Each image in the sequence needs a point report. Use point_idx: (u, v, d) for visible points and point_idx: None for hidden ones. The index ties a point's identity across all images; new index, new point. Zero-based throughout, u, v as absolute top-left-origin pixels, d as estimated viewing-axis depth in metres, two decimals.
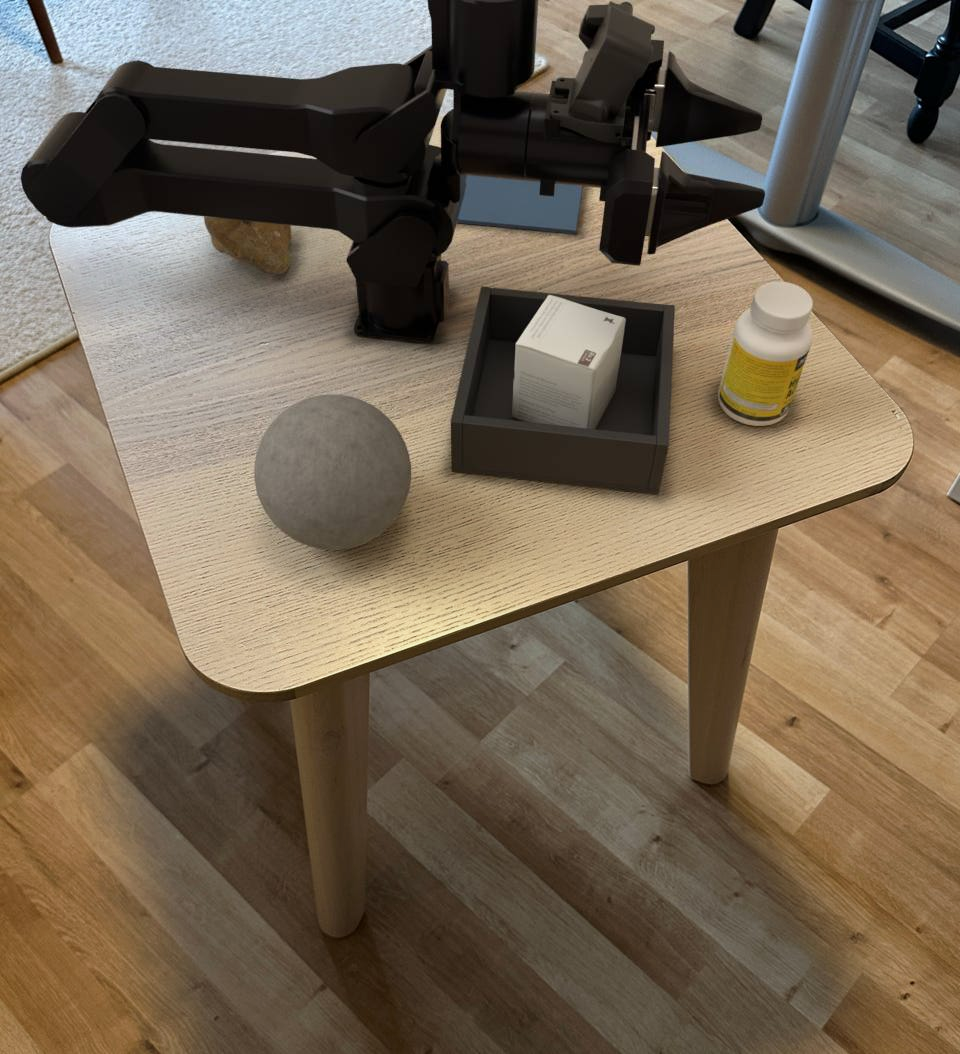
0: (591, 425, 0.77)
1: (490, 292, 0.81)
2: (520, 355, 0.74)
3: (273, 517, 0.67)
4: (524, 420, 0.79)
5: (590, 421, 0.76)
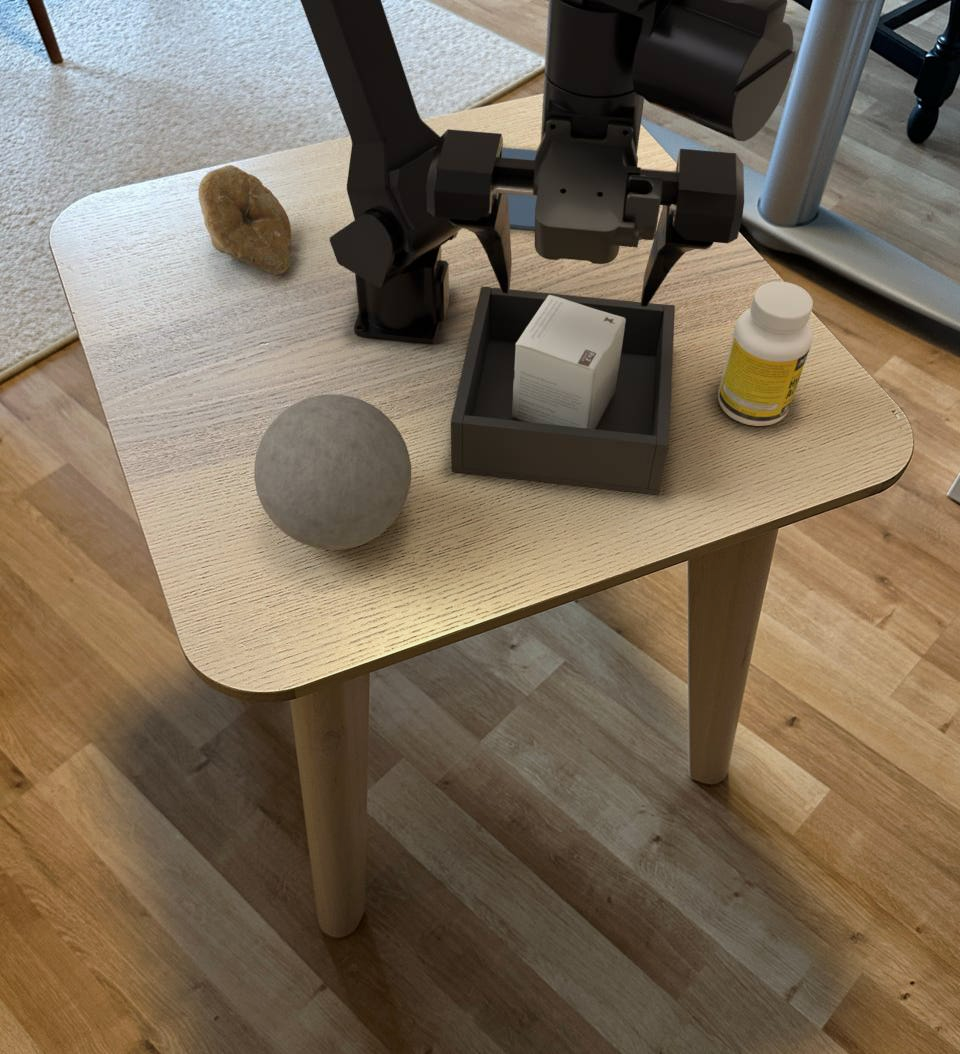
0: (591, 425, 0.77)
1: (490, 292, 0.81)
2: (520, 355, 0.74)
3: (273, 517, 0.67)
4: (524, 420, 0.79)
5: (590, 421, 0.76)
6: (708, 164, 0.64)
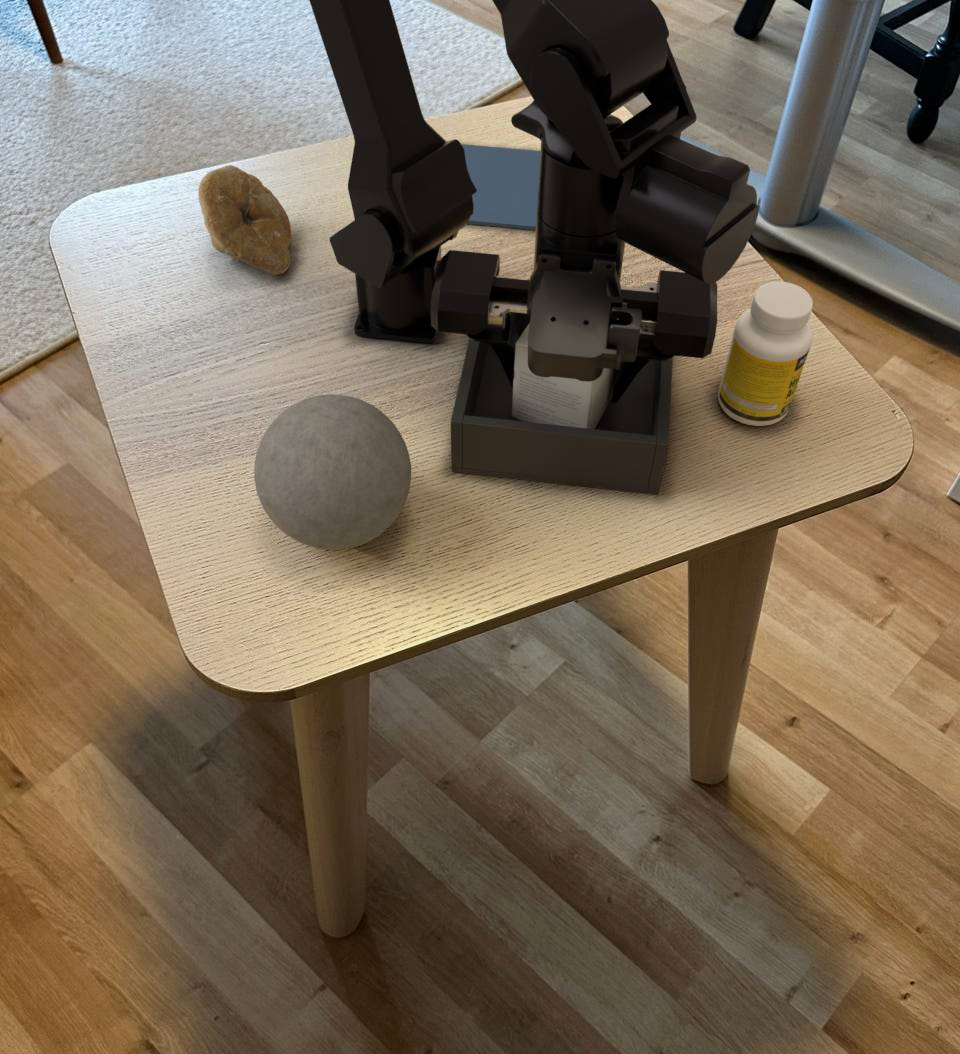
0: (591, 425, 0.77)
1: None
2: (520, 355, 0.74)
3: (273, 517, 0.67)
4: (524, 420, 0.79)
5: (590, 421, 0.76)
6: (685, 286, 0.71)
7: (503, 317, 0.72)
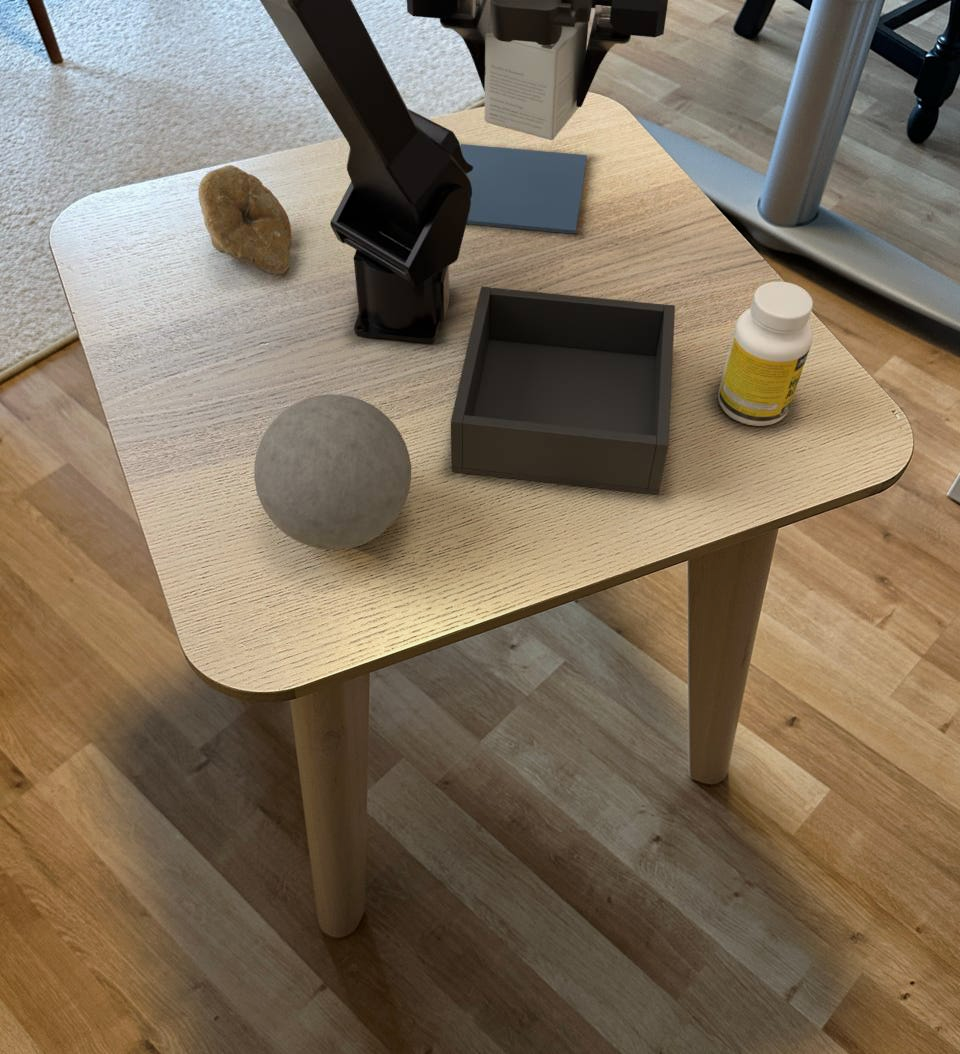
0: (556, 121, 0.83)
1: (490, 292, 0.81)
2: (490, 45, 0.80)
3: (273, 517, 0.67)
4: (495, 123, 0.85)
5: (555, 115, 0.82)
6: None
7: (473, 2, 0.78)
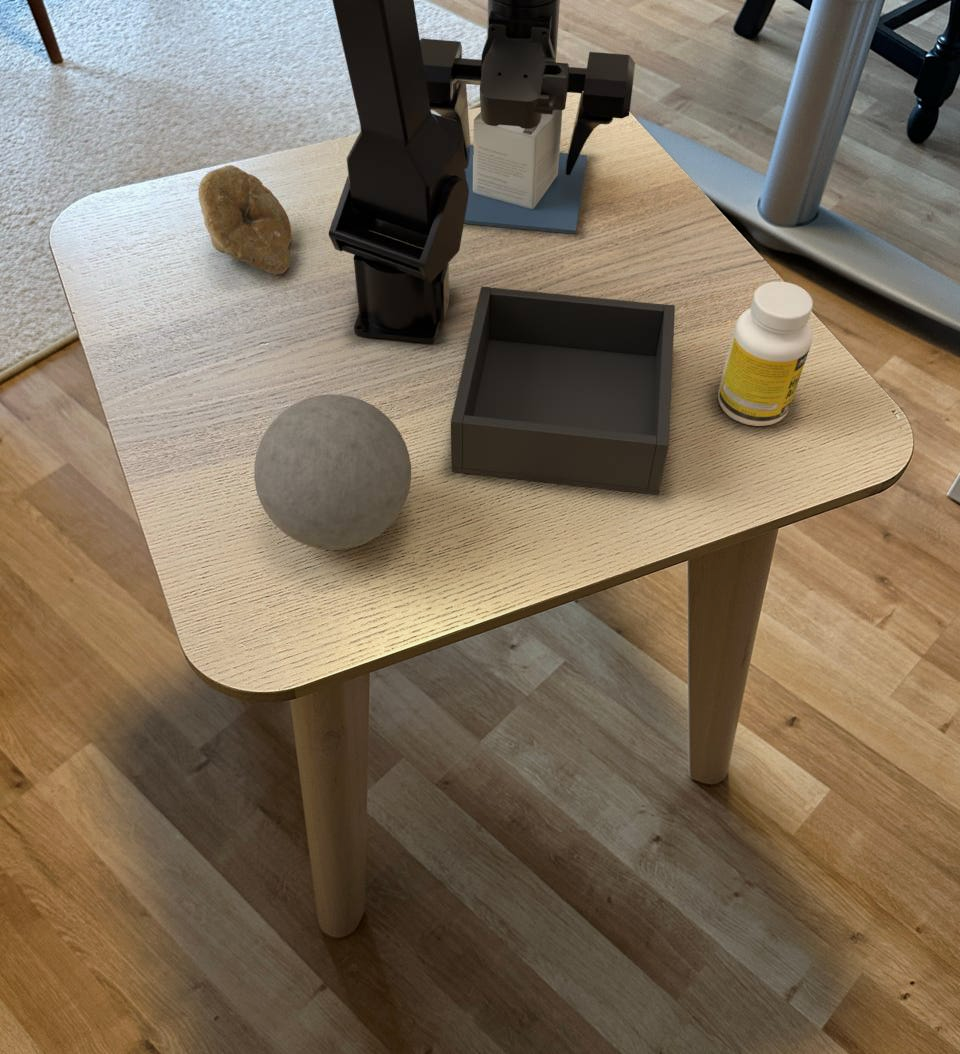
0: (536, 193, 0.95)
1: (490, 292, 0.81)
2: (477, 130, 0.92)
3: (273, 517, 0.67)
4: (482, 194, 0.97)
5: (535, 188, 0.94)
6: (608, 62, 0.89)
7: None
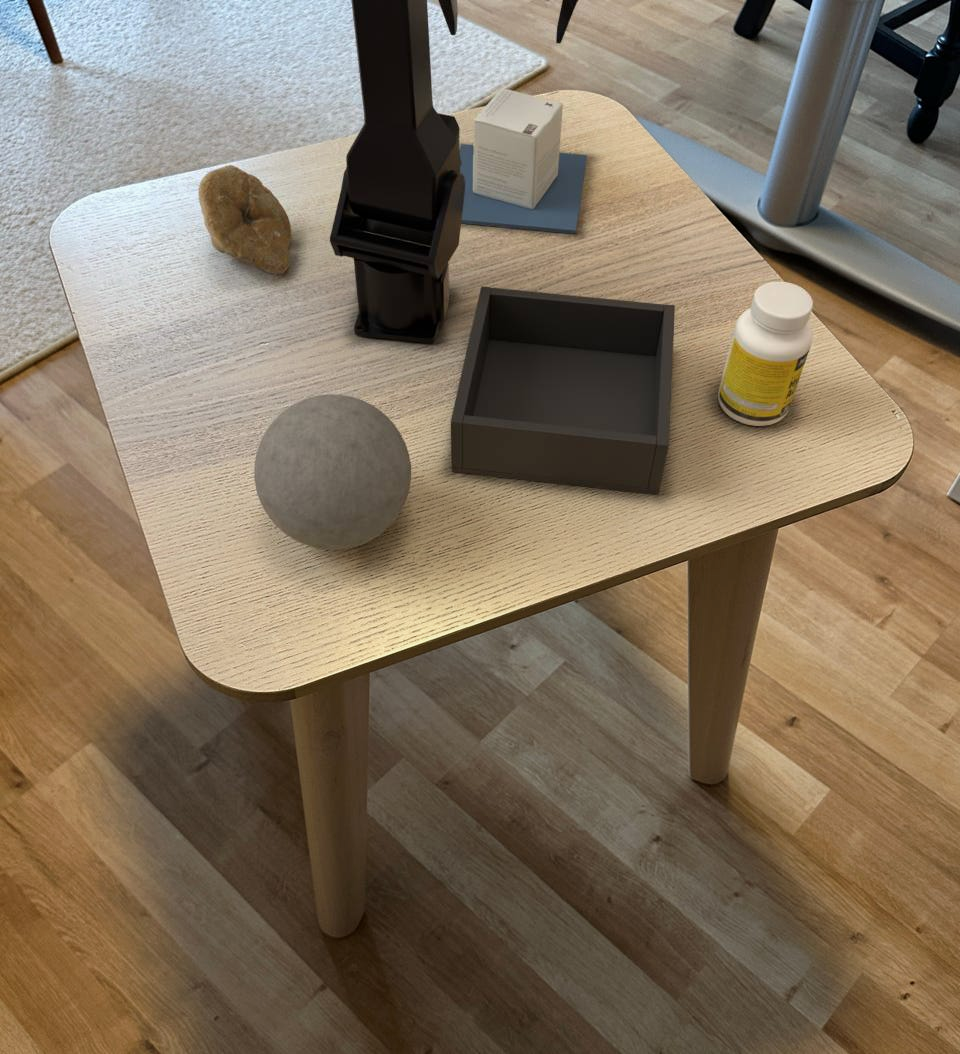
0: (536, 193, 0.95)
1: (490, 292, 0.81)
2: (477, 130, 0.92)
3: (273, 517, 0.67)
4: (482, 194, 0.97)
5: (535, 188, 0.94)
6: None
7: None
